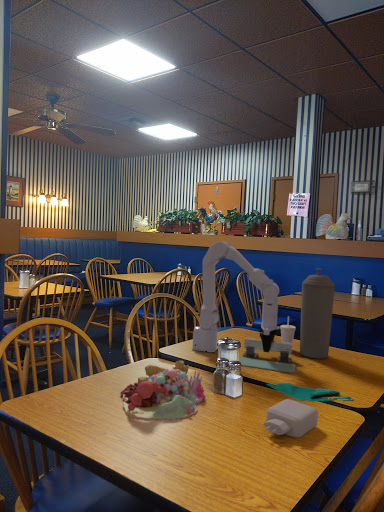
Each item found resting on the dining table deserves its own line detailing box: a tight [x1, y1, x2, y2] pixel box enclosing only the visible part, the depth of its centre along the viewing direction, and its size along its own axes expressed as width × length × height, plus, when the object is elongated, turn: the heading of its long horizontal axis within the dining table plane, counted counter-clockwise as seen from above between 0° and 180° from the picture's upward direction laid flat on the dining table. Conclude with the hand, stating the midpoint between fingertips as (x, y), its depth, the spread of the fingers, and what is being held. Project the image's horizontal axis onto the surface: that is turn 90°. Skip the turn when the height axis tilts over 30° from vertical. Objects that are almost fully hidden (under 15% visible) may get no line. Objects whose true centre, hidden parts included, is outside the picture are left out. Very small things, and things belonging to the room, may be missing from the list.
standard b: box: [276, 351, 293, 364], centre depth 155 cm, size 5×6×4 cm
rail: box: [243, 337, 293, 355], centre depth 156 cm, size 18×3×4 cm, turn 72°
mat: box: [239, 356, 296, 374], centre depth 147 cm, size 22×9×1 cm, turn 72°
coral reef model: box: [120, 360, 206, 422], centre depth 112 cm, size 25×24×9 cm
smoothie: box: [279, 315, 297, 344], centre depth 170 cm, size 6×6×14 cm
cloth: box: [266, 382, 353, 402], centre depth 122 cm, size 26×14×2 cm, turn 56°
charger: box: [263, 398, 319, 439], centre depth 97 cm, size 5×9×15 cm
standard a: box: [242, 347, 259, 359], centre depth 159 cm, size 5×6×4 cm
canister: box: [299, 268, 336, 360], centre depth 162 cm, size 13×13×35 cm
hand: (267, 349), depth 157 cm, fingers open, 7 cm apart
